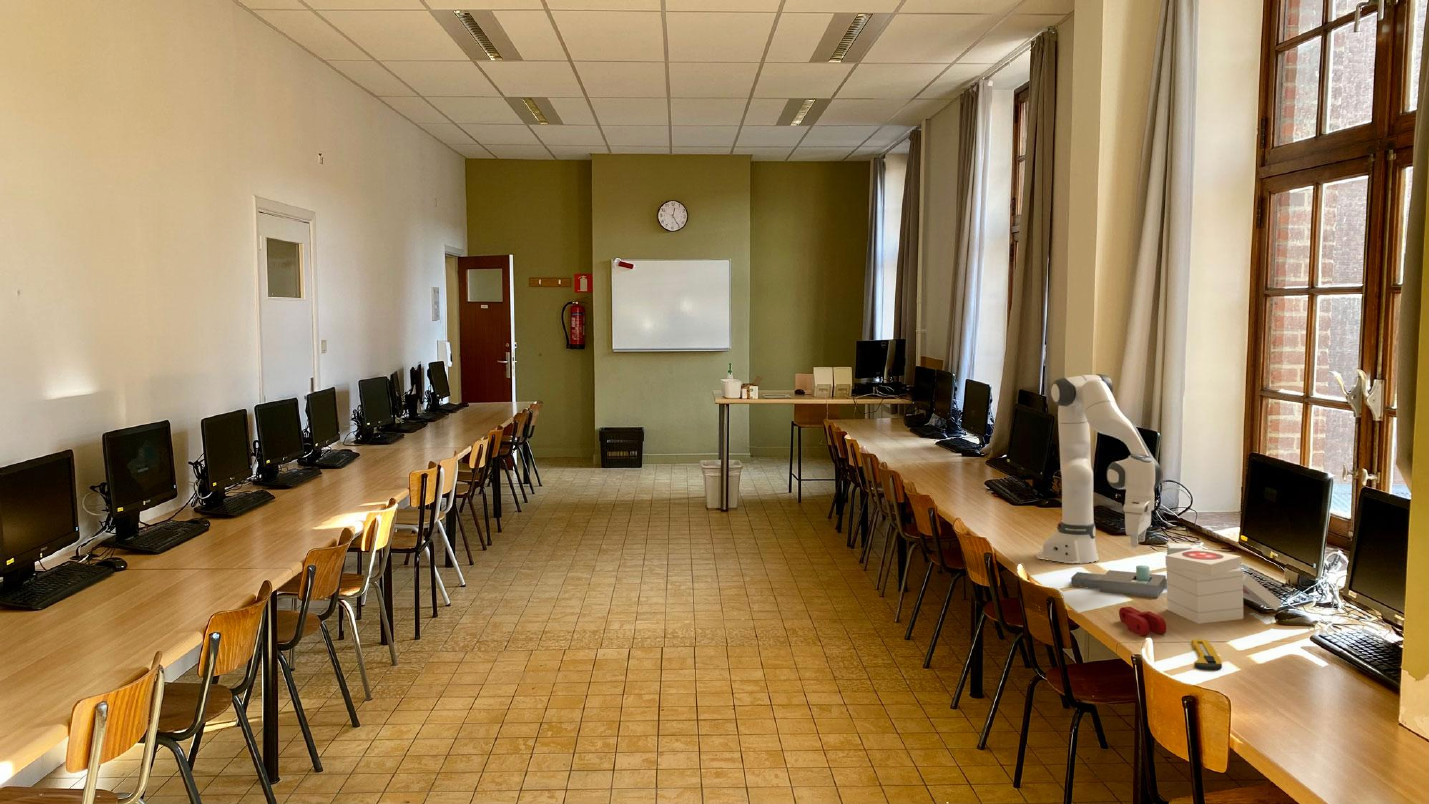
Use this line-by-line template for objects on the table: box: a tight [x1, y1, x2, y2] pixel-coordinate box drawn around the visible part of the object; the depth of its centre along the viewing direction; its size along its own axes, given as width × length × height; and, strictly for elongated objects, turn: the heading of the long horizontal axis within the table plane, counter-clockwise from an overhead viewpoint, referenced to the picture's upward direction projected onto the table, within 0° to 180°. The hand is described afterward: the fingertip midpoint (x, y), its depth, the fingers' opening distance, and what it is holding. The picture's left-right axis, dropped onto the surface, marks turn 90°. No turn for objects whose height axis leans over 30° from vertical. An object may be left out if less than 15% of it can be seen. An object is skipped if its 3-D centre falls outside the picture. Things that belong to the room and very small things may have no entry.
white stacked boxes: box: [1165, 547, 1283, 625], centre depth 290 cm, size 19×30×18 cm, turn 98°
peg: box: [1135, 565, 1150, 582], centre depth 317 cm, size 4×4×8 cm
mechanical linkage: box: [1118, 606, 1167, 637], centre depth 280 cm, size 16×7×5 cm, turn 9°
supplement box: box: [1166, 542, 1194, 555], centre depth 325 cm, size 7×7×13 cm
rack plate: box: [1070, 569, 1167, 599], centre depth 322 cm, size 28×14×4 cm, turn 55°
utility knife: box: [1191, 638, 1223, 671], centre depth 255 cm, size 7×22×2 cm, turn 163°
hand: (1137, 544), depth 317 cm, fingers open, 8 cm apart
